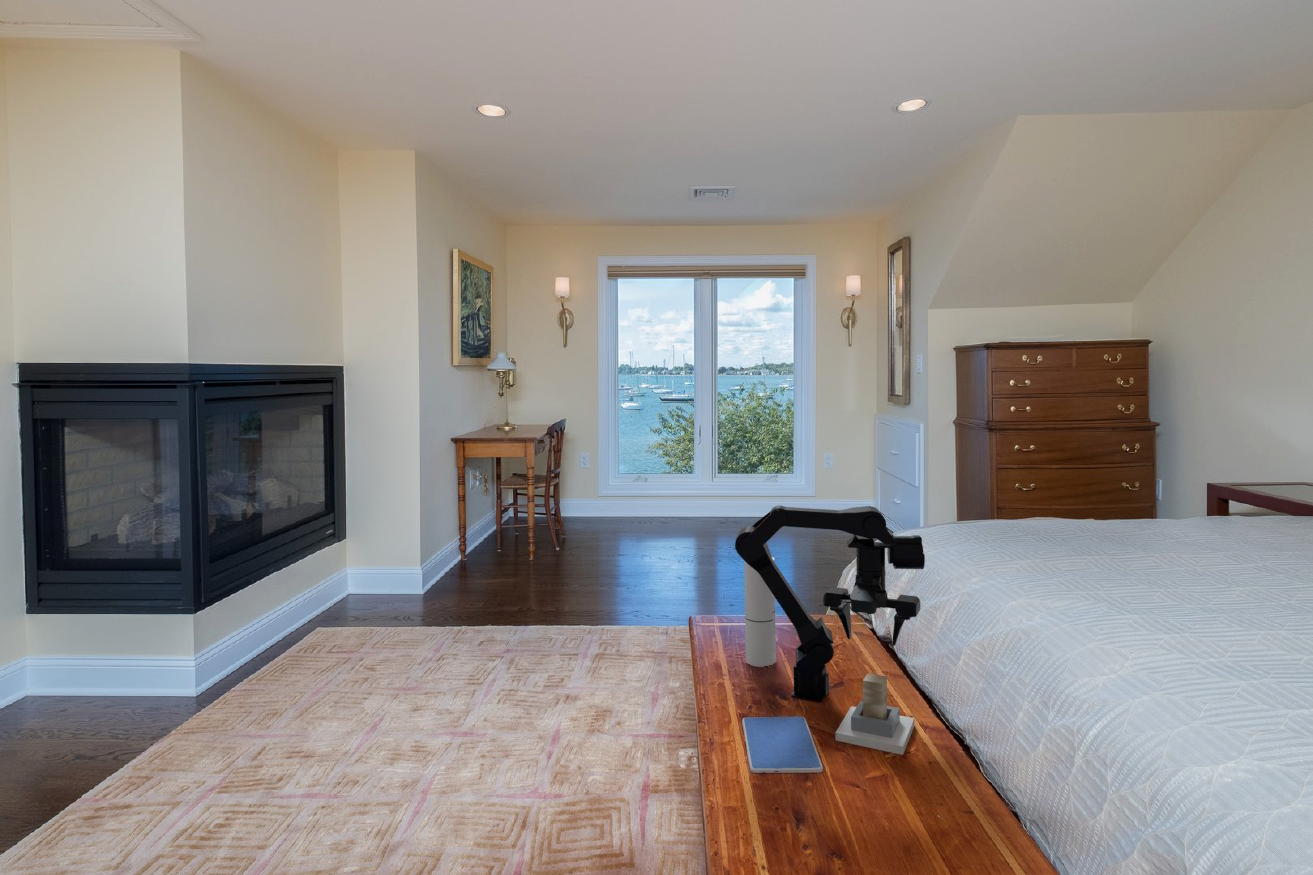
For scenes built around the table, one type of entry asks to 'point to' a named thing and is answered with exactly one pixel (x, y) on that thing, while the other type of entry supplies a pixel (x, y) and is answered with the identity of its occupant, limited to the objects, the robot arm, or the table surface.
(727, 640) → the table surface
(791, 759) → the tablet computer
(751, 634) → the cylindrical container
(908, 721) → the socket board
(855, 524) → the robot arm
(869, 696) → the peg
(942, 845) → the table surface
